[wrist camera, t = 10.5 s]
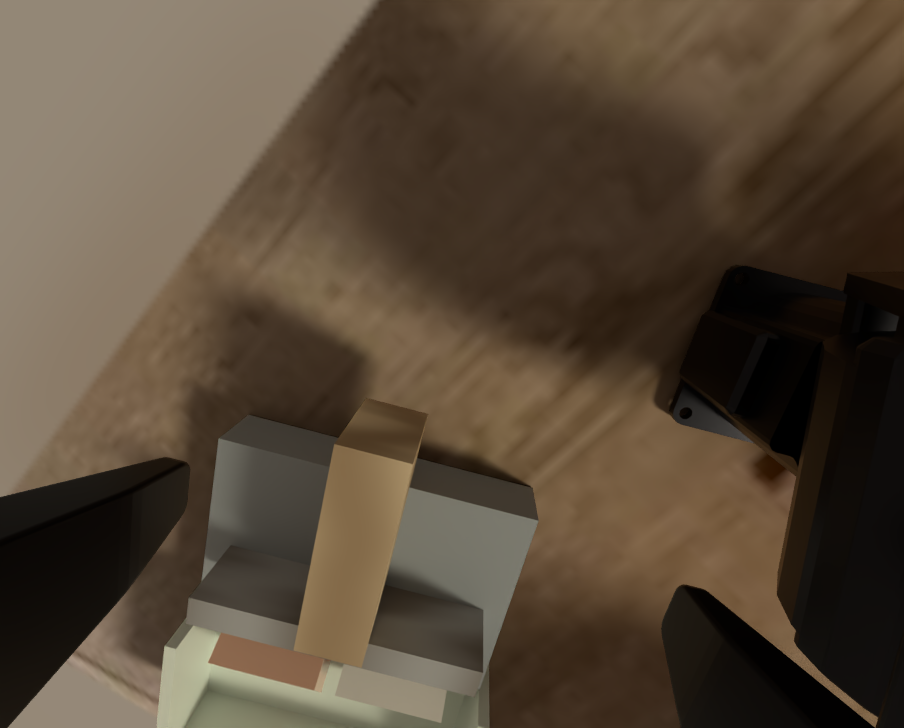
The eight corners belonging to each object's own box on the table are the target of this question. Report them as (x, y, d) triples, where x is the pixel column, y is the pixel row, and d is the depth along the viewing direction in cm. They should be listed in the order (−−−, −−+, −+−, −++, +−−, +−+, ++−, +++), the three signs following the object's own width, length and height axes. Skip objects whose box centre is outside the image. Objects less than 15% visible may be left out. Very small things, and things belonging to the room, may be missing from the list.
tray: (488, 648, 24) (489, 728, 20) (453, 752, 26) (447, 843, 22) (215, 578, 24) (164, 645, 20) (201, 688, 26) (152, 767, 22)
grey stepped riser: (532, 488, 21) (538, 520, 19) (480, 643, 24) (479, 689, 22) (248, 414, 21) (218, 438, 19) (226, 578, 24) (197, 617, 22)
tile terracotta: (327, 649, 21) (314, 690, 20) (332, 657, 24) (321, 692, 23) (225, 622, 21) (207, 662, 20) (245, 635, 24) (231, 669, 23)
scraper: (539, 442, 18) (553, 500, 14) (476, 632, 21) (474, 724, 17) (255, 369, 18) (193, 407, 14) (227, 568, 21) (168, 645, 17)
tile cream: (448, 680, 21) (441, 722, 20) (435, 682, 24) (428, 719, 23) (346, 654, 21) (335, 695, 20) (349, 660, 24) (339, 696, 23)
